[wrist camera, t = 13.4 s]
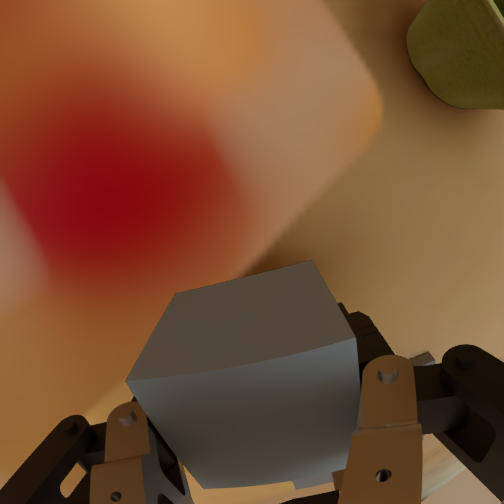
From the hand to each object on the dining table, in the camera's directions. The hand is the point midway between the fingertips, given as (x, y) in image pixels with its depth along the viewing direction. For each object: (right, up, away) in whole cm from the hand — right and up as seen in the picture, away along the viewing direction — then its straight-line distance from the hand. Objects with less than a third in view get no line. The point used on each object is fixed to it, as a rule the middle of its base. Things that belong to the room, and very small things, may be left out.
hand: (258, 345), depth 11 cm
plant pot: (+11, +14, +1) cm, 18 cm away
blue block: (0, 0, 0) cm, 1 cm away
